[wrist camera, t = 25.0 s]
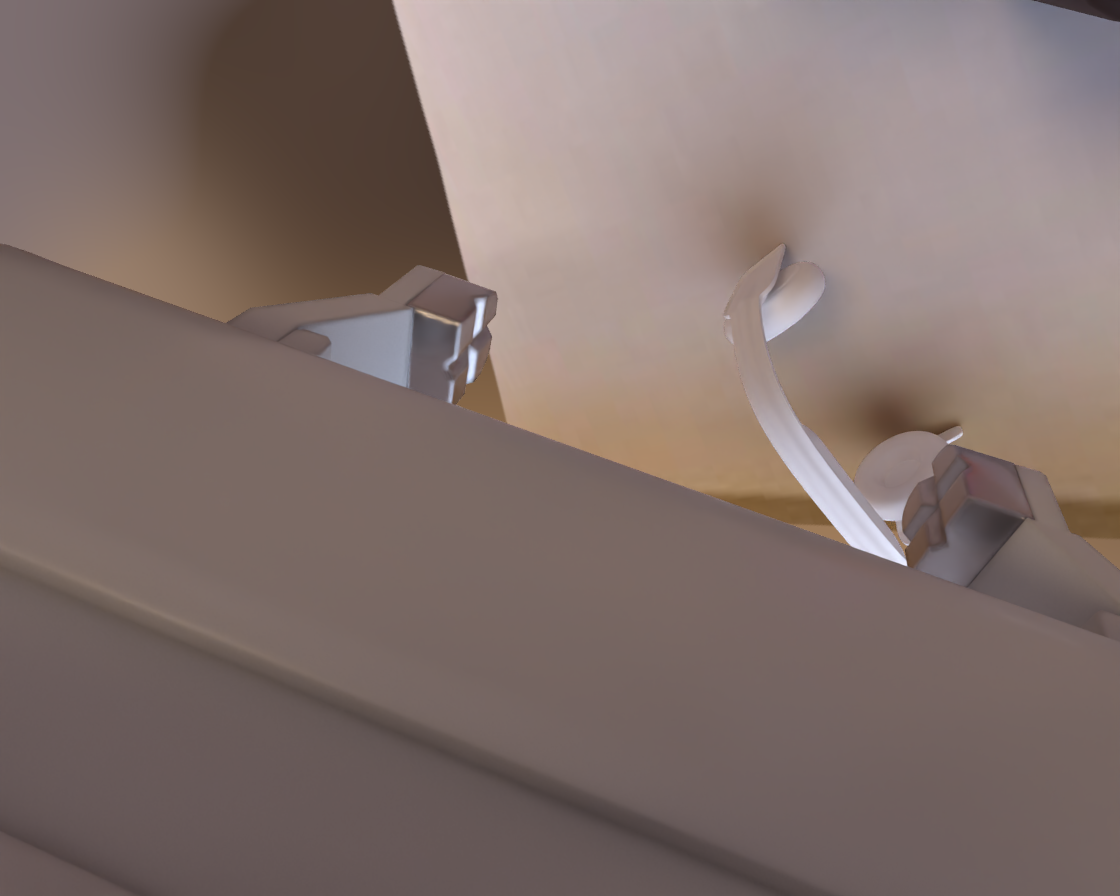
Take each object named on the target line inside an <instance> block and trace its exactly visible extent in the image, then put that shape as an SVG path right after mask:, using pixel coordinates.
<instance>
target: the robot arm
mask: <svg viewBox="0 0 1120 896" xmlns="http://www.w3.org/2000/svg"><path fill="white" fill-rule="evenodd" d="M497 300H498V298H497V293H496V291H493V290H490V289H487V288H484V287H481V286H479V285H476V284H473V283H470V282H467V281H465V280H462V279H459V278H456V277H453V276H450V275H447V274H445V273H444V272H441V271H437V270H434V269H430V268H427V267H424V266H420V265H418V266H416V267H415V268H413V269H412V270H411V271H410V272H408V273H407V274H406V275H404V276H403V277H402V278H400V279H399V280H398V281H397V282H395V283H394V284H393V285H391V286H390V287H389V288H388V289H386V290H385V291H384V292H382V293H381V294H380V295H378V296H377V295H374V294H371V293H369V294H361V295H352V296H344V297H336V298H327V299H320V300H312V301H303V302H295V303H287V304H278V305H271V306H262V307H254V308H250V309H248V310H246V311H245V312H243V313H241V314H240V315H238V316H236V317H235V318H233V319H232V320H230V321H228V322H227V323H223V322H220V321H218V320H215V319H212V318H209V317H206V316H204V315H201V314H198V313H195V312H192V311H190V310H187V309H184V308H181V307H178V306H175V305H173V304H170V303H167V302H164V301H162V300H159V299H156V298H153V297H150V296H147V295H145V294H142V293H139V292H136V291H133V290H131V289H128V288H125V287H122V286H119V285H116V284H114V283H111V282H108V281H105V280H102V279H100V278H97V277H94V276H91V275H88V274H86V273H83V272H80V271H77V270H74V269H71V268H69V267H66V266H63V265H60V264H58V263H56V262H53V261H50V260H48V259H45V258H43V257H40V256H38V255H35V254H33V253H30V252H27V251H24V250H21V249H18V248H15V247H12V246H10V245H6V244H1V243H0V896H1120V570H1119V569H1118V568H1117V567H1115V566H1114V565H1113V564H1112V563H1111V562H1110V561H1109V560H1107V559H1106V558H1105V557H1104V556H1102V554H1100V553H1099V552H1098V551H1097V550H1096V549H1094V548H1093V547H1092V546H1091V545H1090V544H1088V543H1087V542H1086V541H1085V540H1084V539H1083V538H1082V537H1081V536H1079V535H1076V534H1073V533H1070V531H1069V529H1068V526H1067V524H1066V522H1065V519H1064V517H1063V515H1062V512H1061V510H1060V508H1059V505H1058V503H1057V500H1056V498H1055V496H1054V493H1053V491H1052V489H1051V486H1050V484H1049V482H1048V479H1047V477H1046V475H1044V474H1043V473H1041V472H1040V471H1036V470H1033V469H1029V468H1026V467H1022V466H1019V465H1015V464H1014V463H1011V462H1008V461H1005V460H1002V459H998V458H995V457H992V456H989V455H985V454H982V453H979V452H976V451H973V450H969V449H966V448H963V447H960V446H956V445H950V444H947V445H946V446H945V447H944V448H943V449H942V450H941V451H940V452H939V453H938V454H937V456H936V457H935V459H934V460H933V461H932V468H933V474H934V476H932V477H930V478H927V479H925V480H923V481H920V482H918V483H917V485H916V486H915V488H914V490H913V491H912V493H911V494H910V496H909V497H908V500H907V503H906V505H905V508H904V511H903V516H902V531H903V533H904V535H905V536H906V537H907V538H908V539H909V540H910V544H909V545H908V546H907V548H906V549H905V553H906V561H907V566H905V565H902V564H899V563H897V562H894V561H891V560H888V559H885V558H882V557H880V556H877V555H874V554H871V553H868V552H866V551H863V550H860V549H857V548H854V547H852V546H848V545H846V544H843V543H840V542H838V541H835V540H832V539H829V538H826V537H824V536H821V535H818V534H815V533H812V532H810V531H807V530H804V529H801V528H798V527H796V526H793V525H790V524H787V523H784V522H782V521H779V520H776V519H773V518H770V517H768V516H765V515H762V514H759V513H756V512H754V511H751V510H748V509H745V508H742V507H740V506H737V505H734V504H731V503H728V502H726V501H723V500H720V499H717V498H714V497H712V496H709V495H706V494H703V493H700V492H698V491H695V490H692V489H689V488H686V487H684V486H681V485H678V484H675V483H672V482H670V481H667V480H664V479H661V478H658V477H655V476H653V475H650V474H647V473H644V472H641V471H639V470H636V469H633V468H630V467H627V466H625V465H622V464H619V463H616V462H613V461H611V460H608V459H605V458H602V457H599V456H597V455H594V454H591V453H588V452H585V451H583V450H580V449H577V448H574V447H571V446H569V445H566V444H563V443H560V442H557V441H555V440H552V439H549V438H546V437H543V436H541V435H538V434H535V433H532V432H529V431H527V430H524V429H521V428H518V427H515V426H513V425H510V424H507V423H504V422H501V421H498V420H496V419H493V418H490V417H487V416H485V415H482V414H479V413H476V412H473V411H470V410H467V409H465V408H462V407H459V406H457V405H456V404H457V403H458V401H459V400H460V399H461V398H462V396H463V395H464V394H465V387H466V384H468V383H472V382H474V381H475V380H476V379H477V377H478V376H479V375H480V373H481V371H482V369H483V367H484V365H485V363H486V360H487V356H488V354H489V350H490V345H491V340H492V336H491V333H490V331H489V329H488V327H487V325H488V323H489V322H490V321H491V320H492V319H493V318H494V316H495V315H496V308H497Z"/></svg>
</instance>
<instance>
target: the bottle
mask: <svg viewBox="0 0 1120 896" xmlns="http://www.w3.org/2000/svg"><path fill="white" fill-rule="evenodd" d="M1034 1H1038V2H1042V3H1046V4H1050V5H1054V6H1057V7H1061V8H1065V9H1069V10H1073V11H1077V12H1081V13H1085V14H1089V15H1093V16H1097V17H1100V18H1104V19H1108V20H1112V21H1118V22H1120V0H1034Z"/></svg>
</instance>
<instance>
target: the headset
mask: <svg viewBox="0 0 1120 896" xmlns="http://www.w3.org/2000/svg"><path fill="white" fill-rule="evenodd" d="M785 249H786V247H785V245H784V244H783V243H782V244H781V245H779V246H778V247H777V248H775V249H774V250H773V251H772V252H770V253H769V254H768V255H766V256H765V257H764V258H763V259H761V260H760V261H759V262H758V263H756V264H755V265H754V266H753V267H752V268H750V269H749V270H748V271H747V272H746V273H744V274H743V276H742V277H741V278H740V280H739V281H738V283H737V285H736V288H735V290H734V292H733V294H732V296H731V298H730V300H729V302H728V304H727V306H726V308H725V311H724V313H723V316H724V317H725V318H726V320H725V322H724V332H725V336H726V337H727V339H728V340H729V341H730V342H731V343H732V344H733V345H734V351H735V356H736V361H737V366H738V370H739V374H740V377H741V380H742V384H743V387H744V390H745V392H746V395H747V398H748V400H749V402H750V405H751V407H752V409H753V411H754V413H755V415H756V417H757V419H758V421H759V423H760V425H761V427H762V428H763V430H764V432H765V434H766V435H767V437H768V439H769V440H770V442H771V443H772V445H773V446H774V448H775V450H776V451H777V453H778V454H779V455H780V457H781V458H782V460H783V461H784V463H785V464H786V465H787V467H788V468H789V470H790V471H791V472H792V474H793V475H794V476H795V478H796V479H797V480H798V482H799V483H800V484H801V485H802V487H803V488H804V489H805V491H806V492H807V493H808V494H809V496H810V497H811V498H812V499H813V501H814V502H815V503H816V504H817V506H818V507H819V508H820V509H821V511H822V512H823V513H824V514H825V515H826V517H827V518H828V519H829V520H830V522H831V523H832V524H833V525H834V526H835V528H836V529H837V530H838V531H839V532H840V534H841V535H842V536H843V537H844V538H845V539H846V541H847V542H848V543H849V544H850V545H851V546H852V547H854V548H857V549H860V550H863V551H866V552H868V553H871V554H874V555H877V556H880V557H882V558H885V559H888V560H891V561H894V562H897V563H899V564H902V565H905V566H907V561H906V557H905V555H904V552H903V550H902V548H901V546H900V544H899V542H898V541H897V539H896V537H895V536H894V534H893V533H892V531H891V530H890V529H889V527H888V526H887V525H886V523H885V522H884V521H883V520H887V521H896V526H897V532H898V535H899V538H900V540H901V541H902V542H903V543H904V544H905V545H907V546H908V545H909V544H910V540H909V539H908V538H907V537H906V536H905V535H904V533H903V531H902V516H903V511H904V508H905V505H906V503H907V500H908V497H909V496H910V494H911V493H912V491H913V490H914V488H915V486H916V485H917V483H918V482H920V481H923V480H925V479H927V478H930V477H932V476H934V474H933V468H932V461H933V460H934V459H935V457H936V456H937V454H938V453H939V452H940V451H941V450H942V449H943V448H944V447H945V446H946V445H947V444H948V443H950V442H952V441H954V440H956V439H958V438H960V437H961V436H962V435H963V430H962V428H961V427H960V426H955V427H953V428H951V429H949V430H947V431H945V432H943V433H941V434H939V435H935V434H932V433H929V432H925V431H910V432H905V433H901V434H898V435H895V436H893V437H891V438H889V439H887V440H885V441H883V442H882V443H880V444H879V445H878V446H876V447H875V448H874V449H873V450H872V451H871V452H869V454H868V455H867V456H866V457H865V458H864V459H863V461H862V462H861V464H860V465H859V467H858V469H857V472H856V475H855V479H854V483H853V481H852V480H851V479H850V477H849V476H848V475H847V474H846V472H845V471H844V470H843V468H842V467H841V466H840V464H839V463H838V462H837V460H836V459H835V458H834V456H833V455H832V454H831V452H830V451H829V450H828V448H827V447H826V446H825V444H824V443H823V442H822V441H821V439H820V438H819V437H818V436H817V435H816V434H815V433H814V432H813V431H812V430H811V429H809V428H808V427H806V426H804V425H802V424H801V422H800V421H799V419H798V417H797V416H796V414H795V412H794V411H793V409H792V407H791V405H790V403H789V401H788V400H787V398H786V396H785V394H784V391H783V389H782V387H781V385H780V383H779V380H778V378H777V375H776V372H775V370H774V367H773V364H772V361H771V358H770V354H769V350H768V347H767V341H769V340H771V339H772V338H774V337H776V336H777V335H779V334H781V333H782V332H784V331H785V330H787V329H788V328H789V327H791V326H792V325H793V324H795V323H796V322H797V321H798V320H800V319H801V318H802V317H803V316H804V315H805V314H806V313H807V312H808V311H809V310H810V309H811V308H812V307H813V306H814V305H815V304H816V303H817V301H818V300H819V299H820V297H821V295H822V294H823V291H824V289H825V277H824V274H823V272H822V270H821V269H820V268H819V267H818V266H817V265H816V264H814V263H811V262H807V261H803V262H798V263H795V264H792V265H790V266H788V267H786V268H784V269H782V270H780V267H781V264H782V260H783V257H784V253H785ZM779 270H780V271H779Z"/></svg>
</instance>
